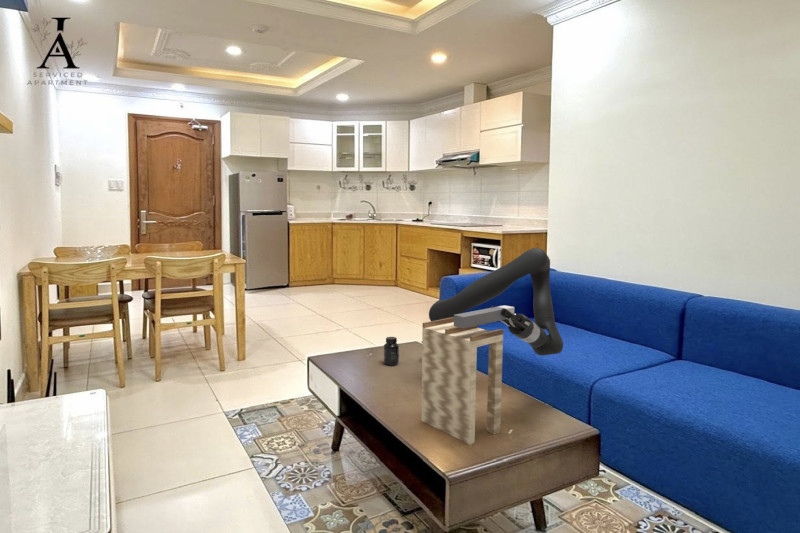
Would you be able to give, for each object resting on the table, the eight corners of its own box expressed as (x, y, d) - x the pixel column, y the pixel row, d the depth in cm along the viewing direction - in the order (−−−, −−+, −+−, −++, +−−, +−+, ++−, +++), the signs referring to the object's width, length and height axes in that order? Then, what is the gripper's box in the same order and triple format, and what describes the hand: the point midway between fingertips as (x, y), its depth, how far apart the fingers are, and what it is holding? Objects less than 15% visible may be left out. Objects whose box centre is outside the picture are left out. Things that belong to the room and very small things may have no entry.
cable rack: (421, 420, 174) (422, 322, 170) (451, 410, 183) (452, 317, 179) (469, 444, 158) (472, 336, 153) (500, 431, 166) (503, 329, 162)
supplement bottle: (381, 362, 237) (381, 336, 235) (395, 361, 239) (396, 335, 238) (386, 367, 230) (386, 340, 229) (401, 365, 233) (401, 339, 231)
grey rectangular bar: (453, 326, 159) (453, 314, 159) (504, 315, 174) (504, 305, 174) (463, 328, 156) (463, 317, 156) (514, 317, 171) (514, 307, 171)
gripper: (511, 314, 185) (484, 295, 174) (545, 322, 174) (518, 302, 163) (504, 334, 183) (476, 316, 173) (538, 343, 172) (510, 324, 162)
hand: (497, 309), depth 168 cm, fingers closed on grey rectangular bar, 4 cm apart
